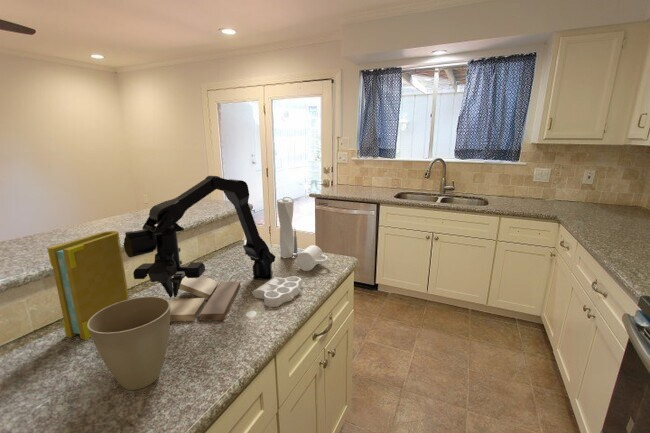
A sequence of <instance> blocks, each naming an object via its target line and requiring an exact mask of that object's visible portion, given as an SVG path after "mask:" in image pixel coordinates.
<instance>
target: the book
mask: <svg viewBox="0 0 650 433" xmlns="http://www.w3.org/2000/svg"><path fill="white" fill-rule="evenodd" d="M46 249H47V253H48V257H49V262H50V266H51V267H52V269H53V271H52V272H53V275H54V280H55V284H56V289H57V290H56V291H57V293H58V298H59V304H60V308H61V314H62V318H63V320H62V323H63V328H64V333H65V337H67V338H73V337H75V336H76V335H79V336H80V339H81V340H85V341H86V340H89V339H90V338H92V337H91V335H90V332H89V330H88V327H87V323H88V321H89V319H90V318H91V317H92V316H93V315H94V314H96V313H97V312H99V311H100V310H102V309H104V308H106V307H108V306H110V305H113V304H115V303H118V302H121V301H124V300H128V299H130V297H129V290H128V284H127V277H126V272H125V265H124V258H123V253H122V246H121V239H120V234H119V231H117V230H108V231H107V230H106V231H102V232H98V233H94V234H91V235H87V236H85V237H84V236H83V237H82V238H78V239H74V240H71V241H68V242H64V243H60V244H56V245H52V246H50V247H47V248H46Z"/></svg>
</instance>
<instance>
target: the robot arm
mask: <svg viewBox="0 0 650 433" xmlns="http://www.w3.org/2000/svg"><path fill="white" fill-rule="evenodd" d="M216 190H218V191H222V192H223V193H224V196H225V197H226V198H227V200H228V201H229V202H230V203H231V204H232V205H233V207H234V209H235V211H236V215H237V217H238V220H239V222H240V225H241V227H242V231H243V233H244V235H245V240H246V242H245V244H244V245H242V247H243V249H244V251H245V253H244V254H245V255H247V256H248V258H250V260H251V261H253V265H252V274H253V280H268V279H269V280H271V279H272V276H273V272H274V271H273V270H272V269H273V267H272V263H275V261H276V255H275V254H273V253H272V252H270V248H269V247H268V245H267V243H266V241H265V240H263V238H262V237H261V236H260V233H259V231H258V227H257V224H256V221H255V218H254V217H253V213H252V211H251V207H250V203H249V199H250V191H249V186H248V184H247V182H246V181H244V180H242V179H240V180H239V179H234V178H233V179H231V178H228V179H227V178H223V177H220V176H218V175H208V176H206V177H205V178H204V179H203V180H201V181H199V182H198V183H197V184H195V185H193V186H192V187H190V188H189V189H188V190H186V191H185V192H183V193H181V194H180V195H178V196H177V197H174V198H172V199H169V200H165V201H163V202H160V203H158V204H155V205H153V206H152V207H151V208H150V209H149V213H148V218H147V219H146V221H145V223H143V226H142V229H139V230H134V231H133V230H131V231H125V234H124V235H125V237H124V239H123V248H124V252H125V254H126V256H127V257H128V258H134V257H138V256H142V255H146V254H149V253H153V252H154V251H155V250H156V253H155V254H154V261H153V262H154V263H152V262H151V263H149V262H148V263H146V262H145V263H142V264H140V265H139V266H138V267H136V268H134V270H133V272H132V275H133V279H134V280H144V279H146V278H148V277H149V280H150V282H152V283H156V282H158V283H160V285H161V286H162V287H163V288H164V290H165V291H166V293H167V295H168V296H169V298H177V297H178V293H179V290H180V289H179V287H180V284H181V281H182V279H183V278H184V277H185V276H186V277H187V278H198V277H200V276H201V275H202V276H203V274H204V272H205V271H206V267H205V266H206V265H205V264H204V262H199V261H198V262H190V263H189V264H187V266H186V265H185V266H183V265H182V264H183V261H182V260H180V252H181V247H179V242H178V232H183V231H184V230H185V228H184V227H182V226H180V225H179V224H178V222H179V221H180V220H181V219H182V218H183V217H184V214H185V213H186V212H187V210H189V209H190V208H191V207H193V206H194V205H196V204H197V203H199V202H200V201H201V200H203V199H204V198H206V197H207V196H209V195H210V194H211V193H213V192H215V191H216ZM181 265H182V266H181Z"/></svg>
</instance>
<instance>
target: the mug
mask: <svg viewBox="0 0 650 433" xmlns="http://www.w3.org/2000/svg"><path fill="white" fill-rule="evenodd" d="M295 260H296V262H295V263H296V265H297V267H298V268H299V269H300V270H301V271H304V272H309V271H312V269H314V268H315V267H316V266H317V265H319V264H320V265H322V264H326V263H328V262H329V257H328V256H327V255H325V254H324V252H323V250H322V249H321V248H320V247H319V246H317V245H315V244H314V245H312V244H311V245H309V246H307V247H306V248H305V249H303V250H302V251H301V252H300V253H298V254H297V257H296V258H295Z"/></svg>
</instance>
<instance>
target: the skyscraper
mask: <svg viewBox="0 0 650 433" xmlns="http://www.w3.org/2000/svg"><path fill="white" fill-rule="evenodd" d="M294 202H295V201H294V199H293V198H292V197H290V196H284V197H283V198H280V199H277V200H276V206H277V215H278V222H279V250H280V254H279V255H280V258H281V257H293V256H294V257H296V256H298V254H297V255H293V253H297V252H298V241H297V240H298V239H297V230H293V217H294ZM296 258H297V257H296Z"/></svg>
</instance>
